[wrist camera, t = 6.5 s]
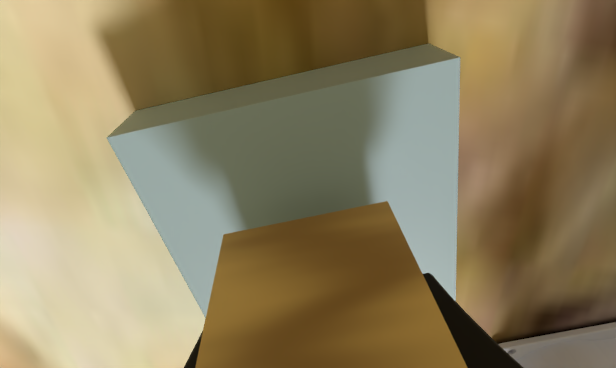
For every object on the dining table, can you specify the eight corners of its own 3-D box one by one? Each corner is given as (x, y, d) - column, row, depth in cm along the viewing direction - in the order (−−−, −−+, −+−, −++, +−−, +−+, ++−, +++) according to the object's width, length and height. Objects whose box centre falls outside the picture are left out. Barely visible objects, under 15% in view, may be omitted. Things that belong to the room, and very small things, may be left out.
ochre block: (387, 200, 10) (494, 424, 5) (397, 310, 13) (476, 532, 8) (223, 234, 11) (171, 482, 5) (265, 335, 13) (257, 568, 8)
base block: (424, 41, 13) (460, 57, 10) (430, 257, 19) (455, 303, 16) (139, 107, 13) (106, 137, 11) (230, 298, 19) (222, 349, 16)
